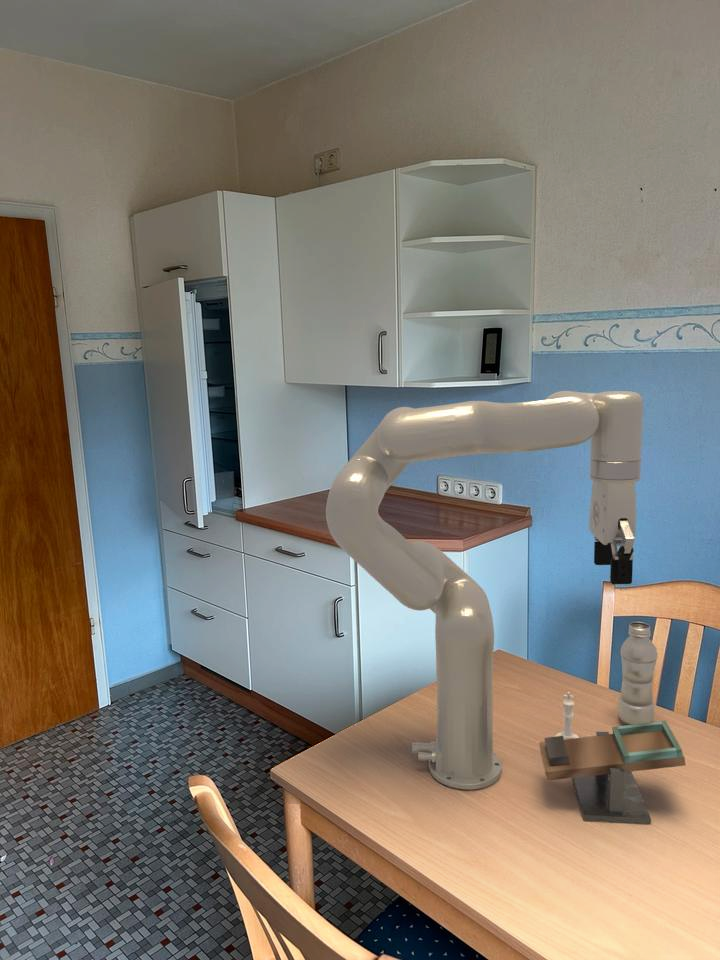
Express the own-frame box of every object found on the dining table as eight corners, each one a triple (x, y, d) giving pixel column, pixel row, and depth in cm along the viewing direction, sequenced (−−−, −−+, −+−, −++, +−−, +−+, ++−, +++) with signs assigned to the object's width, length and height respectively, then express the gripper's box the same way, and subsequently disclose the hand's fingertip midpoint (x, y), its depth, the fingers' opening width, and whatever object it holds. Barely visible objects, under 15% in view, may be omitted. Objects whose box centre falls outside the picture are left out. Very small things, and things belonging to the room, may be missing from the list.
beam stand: (583, 820, 112) (584, 773, 110) (570, 771, 124) (571, 728, 123) (650, 824, 110) (652, 776, 109) (630, 774, 123) (632, 730, 122)
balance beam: (548, 786, 114) (543, 764, 113) (541, 754, 122) (537, 733, 122) (686, 771, 110) (683, 748, 110) (669, 739, 119) (666, 718, 118)
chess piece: (582, 750, 131) (584, 699, 129) (554, 748, 132) (555, 698, 130) (580, 736, 135) (581, 687, 133) (553, 734, 136) (554, 685, 134)
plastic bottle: (622, 710, 144) (626, 616, 140) (658, 720, 140) (662, 623, 136) (612, 725, 139) (616, 627, 135) (649, 735, 135) (653, 634, 131)
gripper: (578, 461, 122) (576, 558, 126) (605, 481, 105) (602, 592, 109) (623, 460, 122) (620, 557, 125) (658, 479, 105) (653, 591, 108)
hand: (612, 573), depth 117 cm, fingers open, 9 cm apart
